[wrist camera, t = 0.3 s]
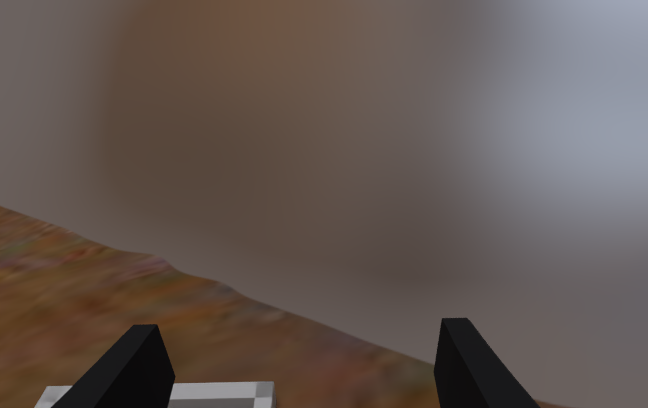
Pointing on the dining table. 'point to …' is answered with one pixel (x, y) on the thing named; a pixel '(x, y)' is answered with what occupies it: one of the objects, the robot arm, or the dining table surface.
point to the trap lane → (198, 395)
